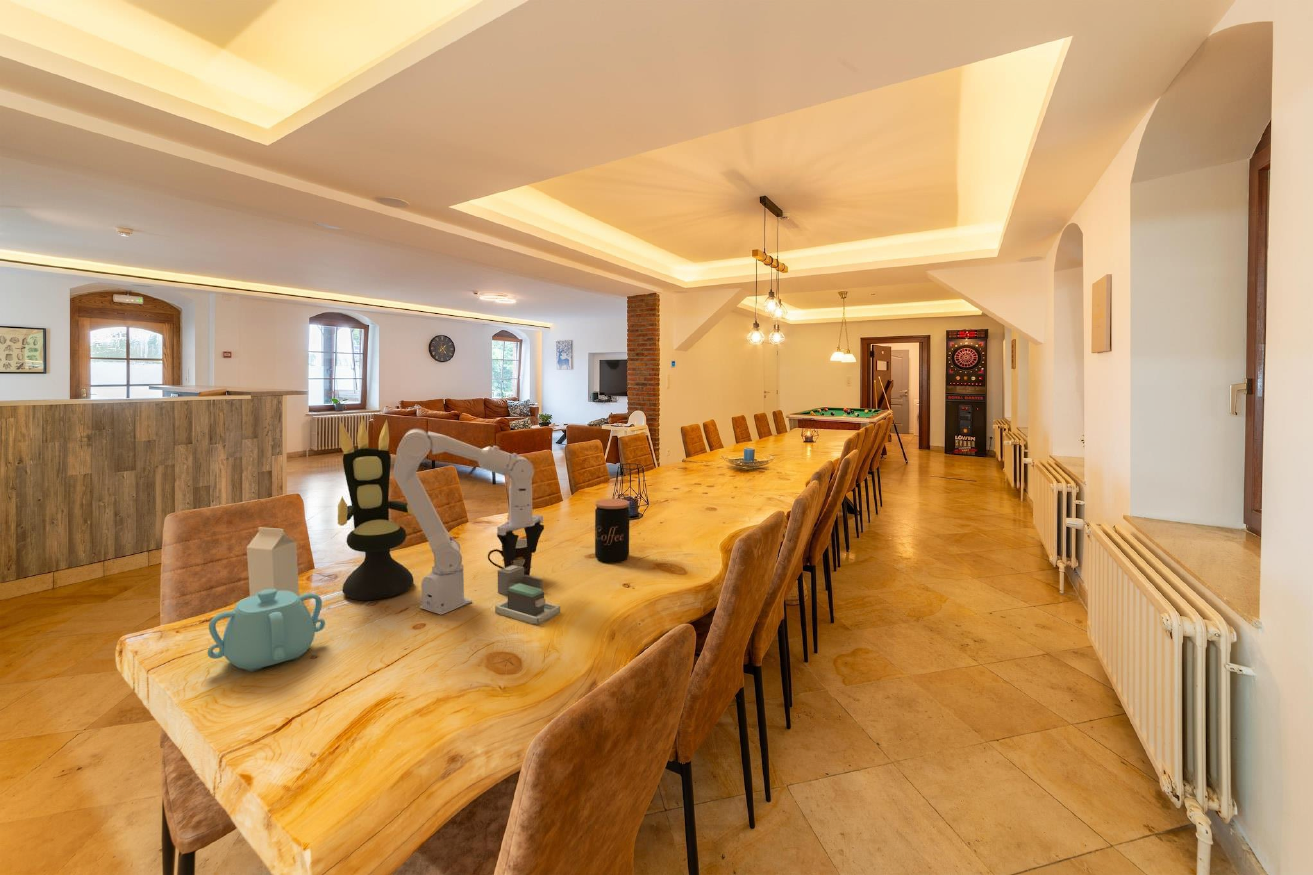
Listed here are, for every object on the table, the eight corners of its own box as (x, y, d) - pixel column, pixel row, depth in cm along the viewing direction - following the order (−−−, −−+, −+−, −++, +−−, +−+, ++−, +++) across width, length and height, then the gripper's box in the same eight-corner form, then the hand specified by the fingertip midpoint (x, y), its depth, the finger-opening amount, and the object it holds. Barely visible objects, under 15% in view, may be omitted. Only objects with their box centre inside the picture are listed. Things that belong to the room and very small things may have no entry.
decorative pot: (196, 674, 105) (191, 604, 104) (266, 635, 121) (262, 574, 119) (274, 681, 103) (270, 610, 101) (335, 640, 119) (332, 579, 117)
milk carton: (275, 610, 133) (270, 533, 131) (250, 608, 135) (245, 531, 133) (299, 599, 140) (295, 525, 138) (275, 596, 142) (271, 523, 140)
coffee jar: (589, 561, 172) (589, 504, 170) (602, 551, 182) (603, 497, 180) (621, 565, 169) (622, 507, 167) (633, 555, 179) (634, 500, 177)
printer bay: (523, 600, 142) (523, 576, 141) (497, 593, 146) (496, 569, 145) (542, 591, 148) (542, 568, 147) (516, 584, 152) (516, 562, 152)
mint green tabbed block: (536, 618, 130) (535, 595, 130) (507, 609, 135) (507, 587, 134) (547, 612, 134) (547, 590, 133) (519, 604, 138) (519, 582, 138)
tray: (537, 625, 128) (537, 618, 127) (495, 612, 134) (495, 606, 134) (560, 612, 135) (560, 606, 134) (519, 601, 141) (519, 595, 141)
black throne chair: (343, 610, 134) (335, 423, 129) (326, 583, 151) (318, 417, 146) (425, 592, 146) (420, 420, 141) (400, 569, 163) (395, 415, 158)
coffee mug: (537, 573, 161) (537, 539, 160) (527, 584, 153) (527, 548, 152) (498, 571, 162) (498, 537, 161) (486, 582, 154) (486, 546, 153)
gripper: (512, 511, 135) (512, 566, 136) (551, 500, 147) (551, 551, 148) (490, 508, 138) (491, 561, 139) (531, 497, 151) (531, 546, 152)
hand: (521, 555), depth 144 cm, fingers open, 7 cm apart
